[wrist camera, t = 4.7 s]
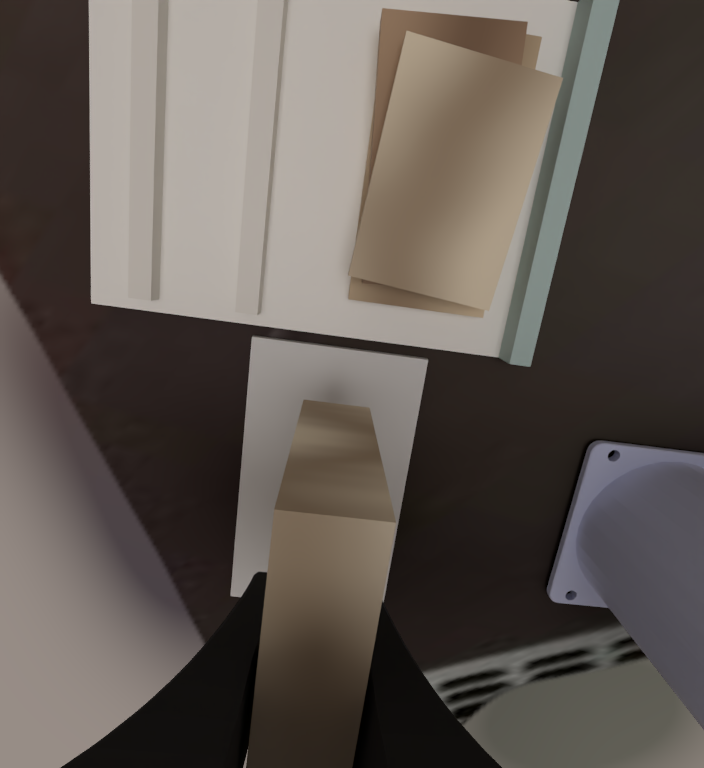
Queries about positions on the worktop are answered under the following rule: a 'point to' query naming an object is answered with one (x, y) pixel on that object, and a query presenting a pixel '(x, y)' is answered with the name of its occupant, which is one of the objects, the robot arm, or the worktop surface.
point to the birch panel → (322, 592)
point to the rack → (296, 163)
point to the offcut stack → (447, 159)
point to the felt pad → (280, 416)
